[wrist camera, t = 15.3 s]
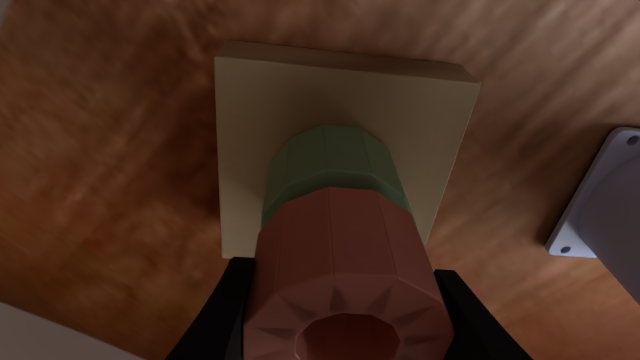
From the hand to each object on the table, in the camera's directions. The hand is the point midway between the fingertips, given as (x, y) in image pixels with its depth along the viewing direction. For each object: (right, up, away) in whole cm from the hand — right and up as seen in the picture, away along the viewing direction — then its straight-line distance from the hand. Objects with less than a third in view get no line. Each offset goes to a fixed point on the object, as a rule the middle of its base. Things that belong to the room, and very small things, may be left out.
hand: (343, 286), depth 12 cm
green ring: (0, +3, +5) cm, 6 cm away
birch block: (0, +5, +7) cm, 8 cm away
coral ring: (0, +1, +1) cm, 1 cm away
